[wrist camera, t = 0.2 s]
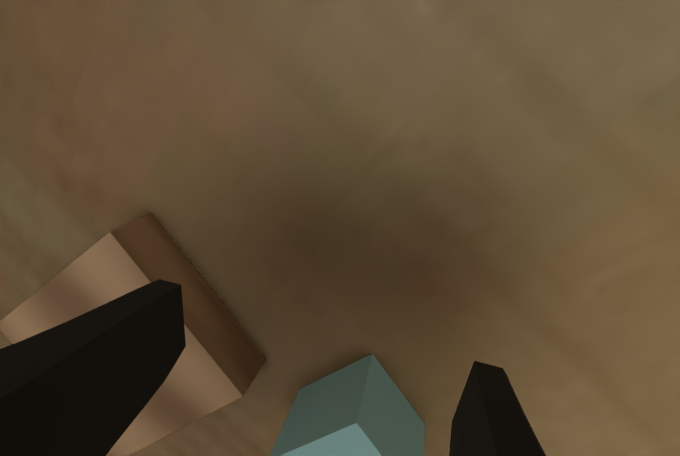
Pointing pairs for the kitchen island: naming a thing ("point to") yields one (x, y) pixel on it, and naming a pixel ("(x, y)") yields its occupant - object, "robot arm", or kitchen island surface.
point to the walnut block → (199, 322)
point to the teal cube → (352, 416)
